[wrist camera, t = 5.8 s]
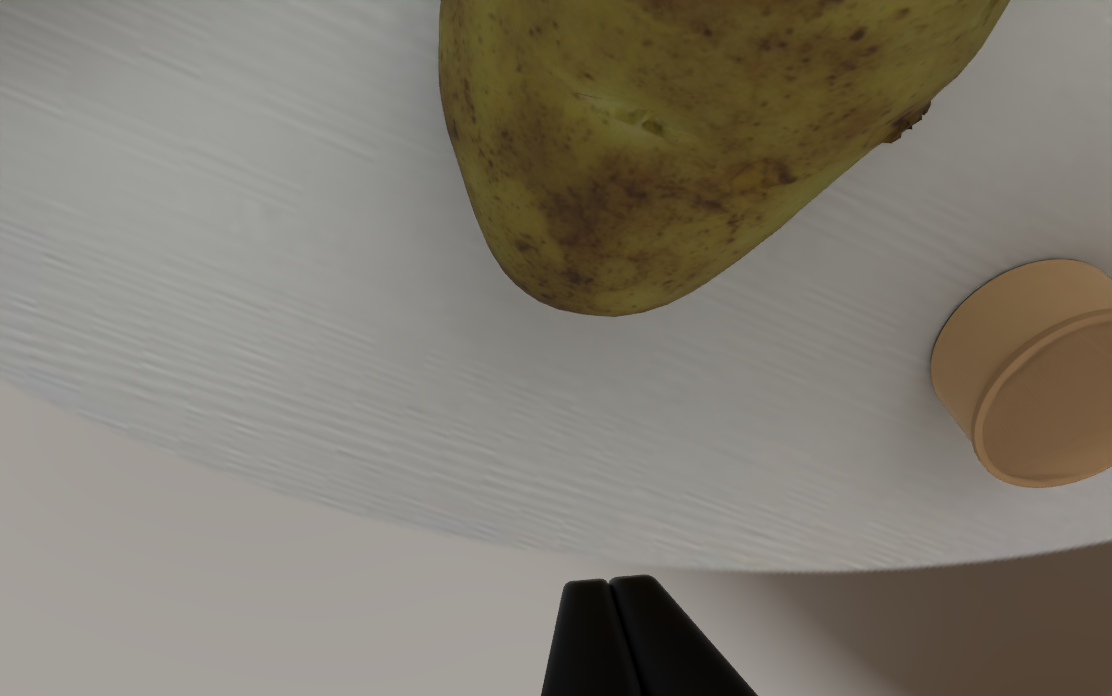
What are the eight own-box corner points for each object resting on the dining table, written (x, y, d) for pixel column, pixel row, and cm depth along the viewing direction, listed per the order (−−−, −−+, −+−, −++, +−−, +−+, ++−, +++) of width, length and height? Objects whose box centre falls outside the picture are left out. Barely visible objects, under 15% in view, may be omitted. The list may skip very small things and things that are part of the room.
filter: (972, 452, 27) (1021, 519, 25) (892, 339, 25) (939, 403, 23) (1148, 346, 26) (1214, 407, 24) (1083, 213, 23) (1152, 270, 21)
